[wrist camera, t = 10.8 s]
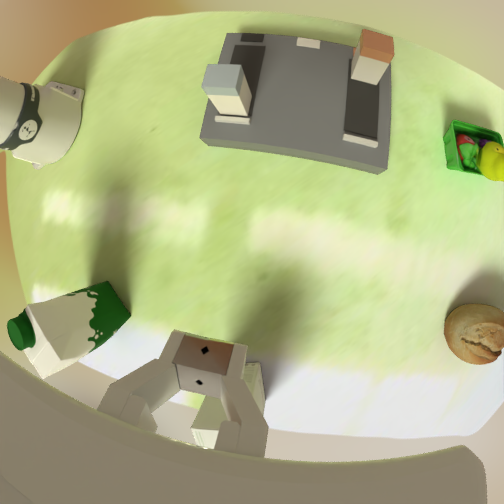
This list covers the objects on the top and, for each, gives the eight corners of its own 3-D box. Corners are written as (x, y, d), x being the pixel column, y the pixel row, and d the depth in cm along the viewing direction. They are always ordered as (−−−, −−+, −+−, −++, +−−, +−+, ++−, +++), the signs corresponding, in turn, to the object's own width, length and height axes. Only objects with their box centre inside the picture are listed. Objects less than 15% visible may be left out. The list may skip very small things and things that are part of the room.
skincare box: (220, 361, 40) (186, 424, 25) (263, 360, 39) (247, 428, 24) (228, 403, 41) (203, 469, 25) (268, 403, 40) (256, 473, 24)
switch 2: (350, 78, 29) (363, 46, 21) (351, 62, 29) (362, 28, 21) (376, 85, 29) (394, 55, 21) (376, 68, 28) (392, 37, 20)
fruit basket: (485, 139, 30) (524, 123, 19) (491, 190, 31) (534, 185, 20) (435, 128, 32) (472, 103, 21) (442, 184, 33) (485, 173, 21)
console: (208, 145, 37) (197, 136, 32) (232, 46, 35) (225, 30, 30) (377, 174, 34) (389, 168, 29) (383, 69, 32) (391, 54, 27)
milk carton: (108, 273, 41) (14, 301, 22) (138, 318, 41) (54, 371, 22) (83, 299, 43) (0, 333, 23) (110, 341, 43) (34, 391, 23)
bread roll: (485, 354, 34) (507, 372, 26) (429, 349, 35) (451, 372, 27) (503, 305, 32) (529, 317, 24) (449, 293, 34) (476, 307, 26)
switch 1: (220, 114, 32) (201, 87, 24) (224, 94, 32) (207, 64, 24) (247, 116, 31) (235, 88, 24) (251, 96, 31) (240, 64, 23)
